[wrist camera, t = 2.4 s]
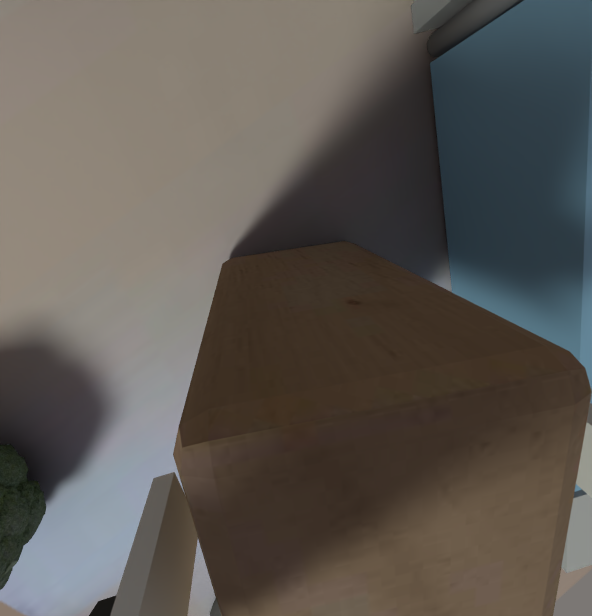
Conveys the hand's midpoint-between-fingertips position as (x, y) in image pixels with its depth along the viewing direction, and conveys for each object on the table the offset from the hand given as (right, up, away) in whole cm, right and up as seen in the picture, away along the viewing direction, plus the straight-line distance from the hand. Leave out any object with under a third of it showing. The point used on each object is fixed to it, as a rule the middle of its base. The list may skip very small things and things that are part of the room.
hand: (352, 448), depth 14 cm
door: (+11, +11, +14) cm, 20 cm away
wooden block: (-2, +5, +14) cm, 15 cm away
